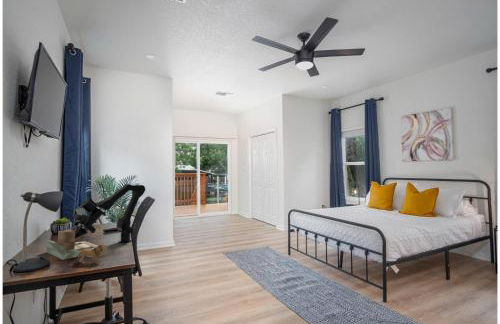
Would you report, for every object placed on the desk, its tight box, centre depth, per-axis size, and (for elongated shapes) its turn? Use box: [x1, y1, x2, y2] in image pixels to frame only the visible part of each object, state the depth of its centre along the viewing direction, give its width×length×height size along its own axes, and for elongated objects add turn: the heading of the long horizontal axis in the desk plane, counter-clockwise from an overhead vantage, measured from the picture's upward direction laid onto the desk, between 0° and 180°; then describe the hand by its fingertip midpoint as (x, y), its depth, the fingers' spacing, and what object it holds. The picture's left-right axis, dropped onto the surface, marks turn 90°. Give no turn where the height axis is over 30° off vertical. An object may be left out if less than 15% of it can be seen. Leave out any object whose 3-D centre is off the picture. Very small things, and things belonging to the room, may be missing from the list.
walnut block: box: [57, 229, 76, 251], centre depth 165 cm, size 6×7×10 cm
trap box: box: [46, 239, 99, 261], centre depth 168 cm, size 20×22×6 cm
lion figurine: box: [74, 243, 107, 265], centre depth 150 cm, size 15×5×9 cm, turn 106°
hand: (72, 238), depth 167 cm, fingers closed, pressing on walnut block
